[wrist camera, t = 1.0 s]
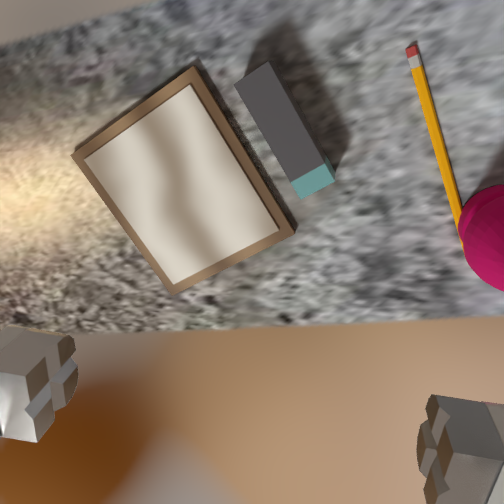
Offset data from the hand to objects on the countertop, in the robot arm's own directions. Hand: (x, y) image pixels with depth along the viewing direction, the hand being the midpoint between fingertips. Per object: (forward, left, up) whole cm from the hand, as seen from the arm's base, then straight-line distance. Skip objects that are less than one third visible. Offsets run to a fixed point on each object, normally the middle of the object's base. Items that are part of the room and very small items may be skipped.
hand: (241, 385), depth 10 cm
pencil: (-8, +7, -30) cm, 31 cm away
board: (+12, -2, -29) cm, 31 cm away
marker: (+1, -2, -29) cm, 29 cm away
